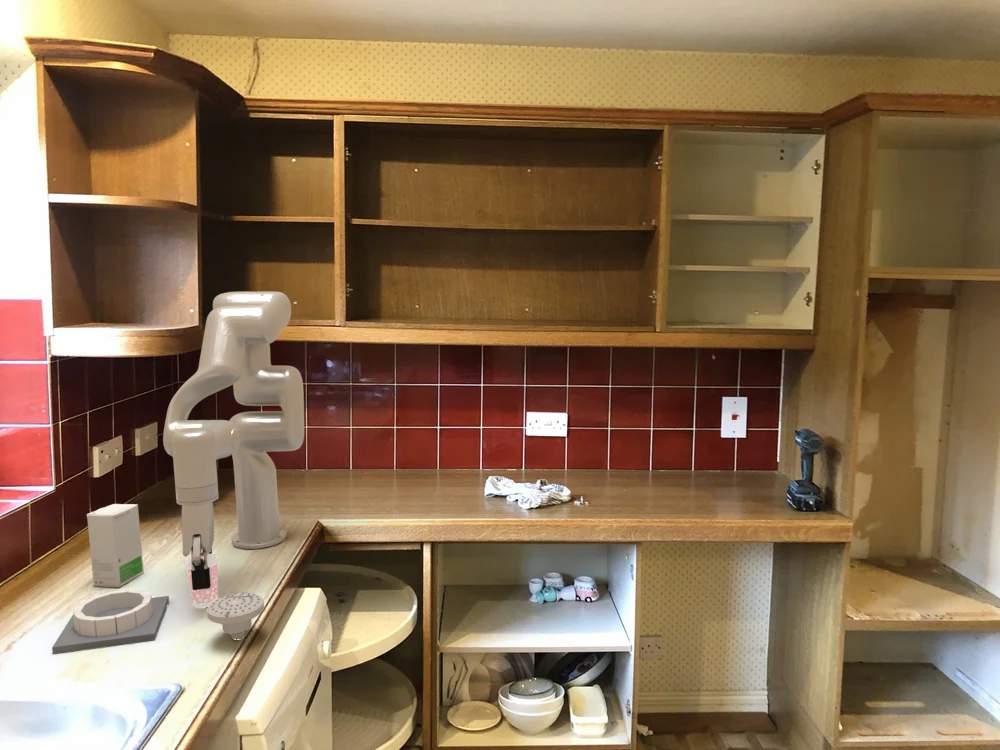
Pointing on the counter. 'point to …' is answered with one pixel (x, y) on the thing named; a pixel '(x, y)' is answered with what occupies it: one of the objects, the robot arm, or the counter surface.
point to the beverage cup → (211, 594)
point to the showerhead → (235, 612)
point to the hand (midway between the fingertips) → (203, 580)
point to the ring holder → (112, 621)
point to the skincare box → (115, 545)
